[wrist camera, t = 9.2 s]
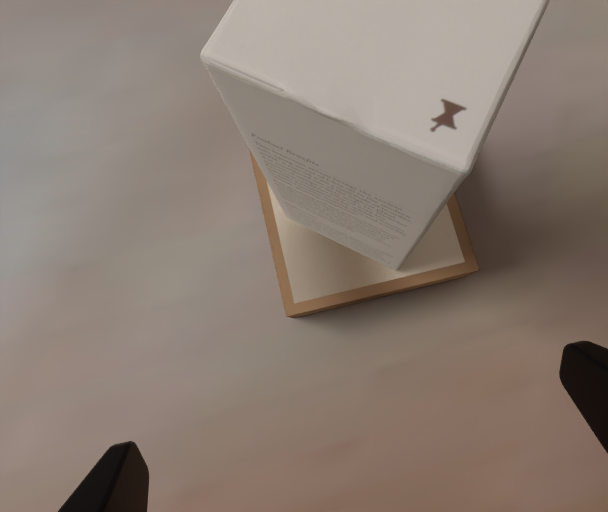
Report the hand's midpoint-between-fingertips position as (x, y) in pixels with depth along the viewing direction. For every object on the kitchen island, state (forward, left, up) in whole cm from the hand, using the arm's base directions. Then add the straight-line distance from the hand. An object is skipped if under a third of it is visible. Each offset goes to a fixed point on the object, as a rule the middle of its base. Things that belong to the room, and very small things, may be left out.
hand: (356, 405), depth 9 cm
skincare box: (0, -7, -10) cm, 13 cm away
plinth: (0, -8, -13) cm, 15 cm away
